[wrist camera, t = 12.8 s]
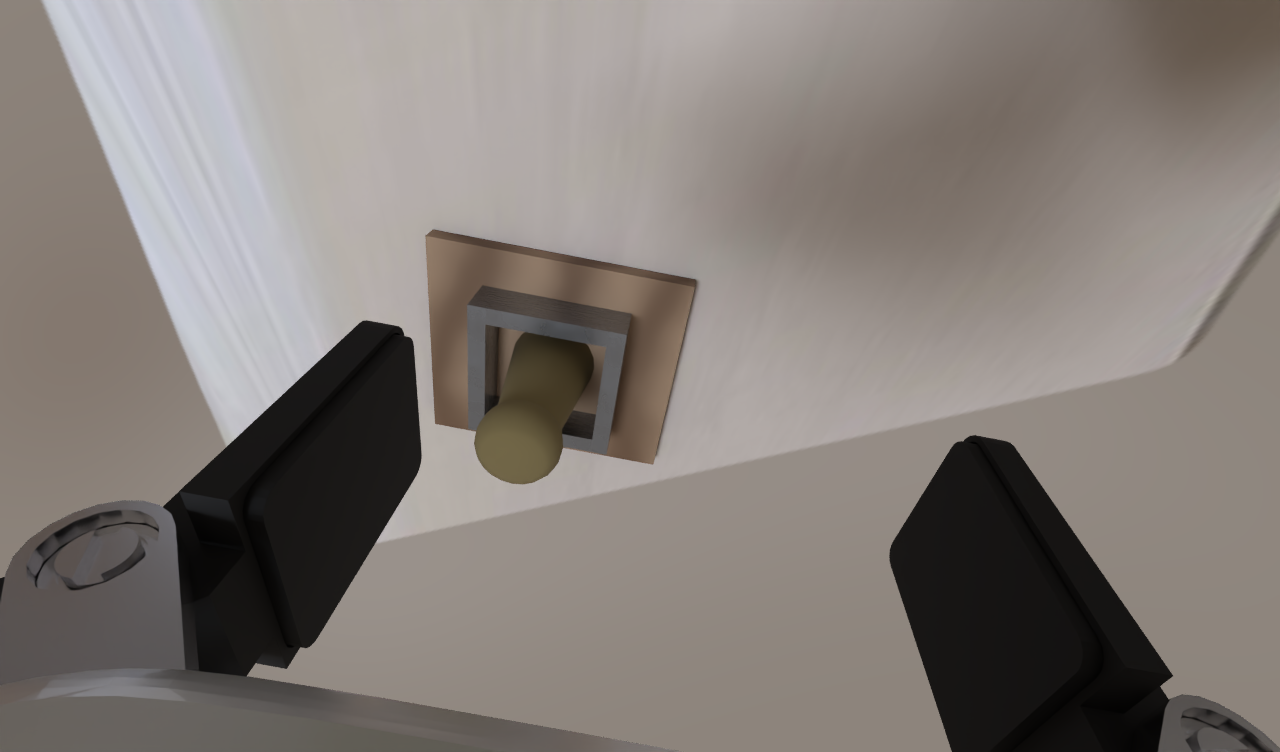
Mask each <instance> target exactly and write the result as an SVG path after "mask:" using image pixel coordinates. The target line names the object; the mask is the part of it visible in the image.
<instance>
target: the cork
mask: <svg viewBox="0 0 1280 752" xmlns="http://www.w3.org/2000/svg"><path fill="white" fill-rule="evenodd" d="M593 370H594V358H593V355H592V353H591V351H590V348H589V346H588V345H587V344H586V343H581V342H575V341H570V340H565V339H560V338H554V337H549V336H544V335H538V334H533V333H528V332H525V333H523V334H522V335H521V336H520V337H519V339H518V340H517V342H516V343H515V346H514V350H513V353H512V357H511V361H510V364H509V368H508V371H507V375H506V378H505V382H504V385H503V389H502V392H501V396H500V399H499V403H498V405H497V406H495V407H493V408H492V409H491V410H489V411H488V412H487V413H486V415H485V416H484V417H483V419H482V420H481V421H480V423H479V425H478V427H477V430H476V435H475V442H474V445H475V450H476V454H477V457H478V459H479V461H480V463H481V464H482V466H483V467H484V468H485V469H486V470H487V471H488V472H489V473H490V474H491V475H493V476H495V477H496V478H498V479H500V480H502V481H506V482H509V483H513V484H527V483H533V482H535V481H537V480H539V479H541V478H543V477H545V476H547V475H548V474H549V473H550V472H551V471H552V470H553V469H554V467H555V466H556V465H557V463H558V462H559V459H560V455H561V452H562V449H563V437H562V428H563V426H564V425H565V423H566V421H567V419H568V418H569V416H570V414H571V412H572V411H573V409H574V407H575V405H576V404H577V402H578V400H579V398H580V397H581V395H582V393H583V391H584V390H585V388H586V386H587V384H588V383H589V381H590V379H591V376H592V373H593Z"/></svg>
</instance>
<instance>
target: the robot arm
mask: <svg viewBox="0 0 1280 752" xmlns="http://www.w3.org/2000/svg"><path fill="white" fill-rule="evenodd" d="M420 464H421V440H420V426H419V413H418V399H417V385H416V371H415V357H414V345H413V341H412V339H411V338H410V337H406V336H404V332H403V330H402V329H401V328H400V327H399V326H394V325H388V324H383V323H378V322H372V321H362V322H361V323H359V324H358V325H357V326H356V327H355V328H354V329H353V330H352V331H351V332H350V333H348V334H347V335H346V336H345V337H344V338H343V339H342V340H341V341H340V342H339V343H338V344H337V345H336V346H335V347H333V348H332V349H331V350H330V351H329V352H328V353H327V354H326V355H325V356H324V357H323V358H322V359H321V360H319V361H318V362H317V363H316V364H315V365H314V366H313V367H312V368H311V369H310V370H309V371H308V372H307V373H306V374H304V375H303V376H302V377H301V378H300V379H299V380H298V381H297V382H296V383H295V384H294V385H293V386H292V387H291V388H289V389H288V390H287V391H286V392H285V393H284V394H283V395H282V396H281V397H280V398H279V399H278V400H277V401H275V402H274V403H273V404H272V405H271V406H270V407H269V408H268V409H267V410H266V411H265V412H264V413H263V414H262V415H260V416H259V417H258V418H257V419H256V420H255V421H254V422H253V423H252V424H251V425H250V426H249V427H248V428H246V429H245V430H244V431H243V432H242V433H241V434H240V435H239V436H238V437H237V438H236V439H235V440H234V441H233V442H231V443H230V444H229V445H228V446H227V447H226V448H225V449H224V450H223V451H222V452H221V453H220V454H219V455H218V456H216V457H215V458H214V459H213V460H212V461H211V462H210V463H209V464H208V465H207V466H206V467H205V468H204V469H203V470H201V471H200V472H199V473H198V474H197V475H196V476H195V477H194V478H193V479H192V480H191V481H190V482H189V483H188V484H186V485H185V486H184V487H183V488H182V489H181V490H180V491H179V492H178V493H177V494H176V495H175V496H174V497H173V498H172V499H171V500H170V501H169V502H167V503H166V504H165V505H164V506H163V507H162V506H160V505H158V504H154V503H150V502H146V501H126V500H124V501H116V502H110V503H105V504H99V505H95V506H92V507H89V508H86V509H83V510H81V511H77V512H74V513H72V514H70V515H68V516H66V517H64V518H62V519H60V520H58V521H56V522H54V523H52V524H50V525H48V526H47V527H45V528H44V529H43V530H41V531H40V532H38V533H37V534H36V535H34V536H33V537H31V538H30V539H29V540H28V541H27V542H26V543H25V544H24V545H23V546H22V547H21V548H20V550H19V551H18V552H17V553H16V554H15V555H14V556H13V558H12V560H11V562H10V565H9V567H8V569H7V571H6V574H5V577H3V578H0V752H681V751H676V750H670V749H665V748H660V747H654V746H648V745H643V744H638V743H632V742H627V741H621V740H615V739H610V738H604V737H599V736H594V735H588V734H583V733H577V732H572V731H566V730H560V729H555V728H549V727H543V726H537V725H532V724H527V723H521V722H515V721H510V720H504V719H498V718H493V717H487V716H481V715H476V714H470V713H465V712H459V711H453V710H448V709H442V708H436V707H431V706H425V705H419V704H414V703H408V702H402V701H397V700H391V699H385V698H380V697H373V696H367V695H361V694H354V693H348V692H342V691H336V690H329V689H323V688H317V687H310V686H305V685H298V684H292V683H286V682H279V681H273V680H267V679H260V678H254V677H246V676H247V675H248V673H249V672H250V670H251V669H252V667H253V666H254V665H255V663H258V664H263V665H269V666H275V667H280V668H285V669H287V668H288V666H289V664H290V663H291V661H292V660H293V658H294V656H295V655H296V653H297V652H298V650H299V648H300V647H303V648H308V647H310V646H311V645H312V644H313V643H314V642H315V641H316V639H317V638H318V636H319V635H320V633H321V631H322V630H323V628H324V626H325V625H326V623H327V621H328V620H329V618H330V617H331V615H332V613H333V612H334V610H335V608H336V607H337V605H338V603H339V602H340V600H341V598H342V597H343V595H344V594H345V592H346V590H347V588H348V587H349V585H350V583H351V582H352V580H353V579H354V577H355V575H356V574H357V572H358V571H359V569H360V567H361V566H362V564H363V562H364V561H365V559H366V557H367V556H368V554H369V552H370V551H371V549H372V548H373V546H374V544H375V543H376V541H377V539H378V538H379V536H380V534H381V533H382V531H383V529H384V528H385V526H386V525H387V523H388V521H389V520H390V518H391V516H392V515H393V513H394V511H395V510H396V508H397V507H398V505H399V503H400V502H401V500H402V498H403V497H404V495H405V493H406V492H407V490H408V488H409V487H410V485H411V484H412V482H413V480H414V479H415V477H416V475H417V473H418V470H419V468H420ZM890 564H891V568H892V571H893V574H894V577H895V580H896V583H897V586H898V589H899V592H900V595H901V598H902V601H903V604H904V607H905V610H906V613H907V616H908V619H909V622H910V625H911V629H912V631H913V635H914V638H915V641H916V644H917V647H918V650H919V653H920V656H921V659H922V662H923V665H924V668H925V671H926V674H927V677H928V680H929V683H930V686H931V689H932V692H933V695H934V698H935V701H936V704H937V708H938V710H939V714H940V717H941V720H942V723H943V726H944V729H945V732H946V735H947V738H948V741H949V744H950V747H951V750H952V752H1280V748H1279V747H1278V746H1277V745H1276V744H1275V743H1274V742H1273V741H1272V740H1270V739H1269V738H1268V737H1267V736H1266V735H1265V734H1264V733H1263V732H1262V731H1260V730H1259V729H1257V728H1256V727H1255V726H1253V725H1252V724H1251V723H1249V722H1248V721H1247V720H1245V719H1244V718H1243V717H1241V716H1240V715H1238V714H1236V713H1234V712H1233V711H1231V710H1229V709H1227V708H1225V707H1224V706H1222V705H1220V704H1218V703H1216V702H1213V701H1210V700H1207V699H1205V698H1202V697H1199V696H1192V695H1179V696H1177V697H1174V698H1171V699H1168V698H1167V696H1166V695H1165V693H1164V692H1163V690H1162V689H1161V687H1160V686H1161V685H1162V684H1163V683H1165V682H1166V681H1167V680H1168V679H1170V678H1171V677H1172V676H1173V675H1172V673H1171V672H1170V671H1169V669H1168V668H1167V666H1166V665H1165V663H1164V662H1163V660H1162V659H1161V658H1160V656H1159V655H1158V653H1157V652H1156V650H1155V649H1154V648H1153V646H1152V645H1151V643H1150V642H1149V640H1148V639H1147V637H1146V636H1145V634H1144V633H1143V632H1142V630H1141V629H1140V627H1139V626H1138V624H1137V623H1136V621H1135V620H1134V619H1133V617H1132V616H1131V614H1130V613H1129V611H1128V610H1127V608H1126V607H1125V606H1124V604H1123V603H1122V601H1121V600H1120V599H1119V597H1118V596H1117V594H1116V593H1115V591H1114V590H1113V589H1112V587H1111V586H1110V584H1109V583H1108V581H1107V580H1106V578H1105V577H1104V575H1103V574H1102V573H1101V571H1100V570H1099V568H1098V567H1097V565H1096V564H1095V562H1094V561H1093V559H1092V558H1091V557H1090V555H1089V554H1088V552H1087V551H1086V549H1085V548H1084V546H1083V545H1082V544H1081V542H1080V541H1079V539H1078V538H1077V536H1076V535H1075V533H1074V532H1073V531H1072V529H1071V528H1070V526H1069V525H1068V523H1067V522H1066V521H1065V519H1064V518H1063V516H1062V515H1061V513H1060V512H1059V510H1058V509H1057V508H1056V506H1055V505H1054V503H1053V502H1052V500H1051V499H1050V497H1049V496H1048V495H1047V493H1046V492H1045V490H1044V489H1043V487H1042V486H1041V484H1040V483H1039V482H1038V480H1037V479H1036V477H1035V476H1034V474H1033V473H1032V471H1031V470H1030V469H1029V467H1028V466H1027V464H1026V463H1025V461H1024V460H1023V458H1022V457H1021V456H1020V454H1019V453H1018V451H1017V450H1016V448H1015V447H1014V446H1013V445H1012V444H1011V443H1009V442H1006V441H1002V440H997V439H991V438H986V437H981V436H976V435H974V436H969V437H968V438H966V439H965V440H964V441H963V442H962V441H961V442H957V443H955V444H954V445H953V447H952V448H951V449H950V451H949V453H948V454H947V456H946V457H945V459H944V461H943V462H942V464H941V465H940V467H939V469H938V470H937V472H936V474H935V475H934V477H933V478H932V480H931V482H930V483H929V485H928V486H927V488H926V490H925V491H924V493H923V494H922V496H921V498H920V499H919V501H918V503H917V504H916V506H915V507H914V509H913V511H912V512H911V514H910V516H909V517H908V519H907V520H906V522H905V523H904V525H903V527H902V528H901V530H900V532H899V533H898V535H897V536H896V538H895V540H894V541H893V543H892V545H891V548H890Z"/></svg>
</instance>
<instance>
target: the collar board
mask: <svg viewBox="0 0 1280 752" xmlns="http://www.w3.org/2000/svg"><path fill="white" fill-rule="evenodd" d="M426 255H427V274H428V294H429V313H430V333H431V352H432V372H433V391H434V411H435V424H439V425H445V426H450V427H455V428H461V429H466V430H471V429H468V344H467V304H468V303H469V302H470V300H471V299H472V298H473V297H474V295H475V294H476V293H477V291H478V290H479V289H480V288H481V286H482V285H483V286H489V287H494V288H499V289H504V290H510V291H515V292H520V293H526V294H531V295H536V296H541V297H547V298H552V299H557V300H562V301H568V302H573V303H578V304H583V305H589V306H594V307H599V308H605V309H610V310H615V311H620V312H626V313H631V314H632V316H631V322H630V327H629V333H628V339H627V345H626V350H625V356H624V362H623V368H622V374H621V379H620V385H619V391H618V397H617V402H616V408H615V414H614V420H613V425H612V431H611V436H610V440H609V445H608V449H607V454H606V455H605V456H610V457H616V458H621V459H626V460H632V461H637V462H642V463H648V464H653V463H654V459H655V454H656V450H657V446H658V442H659V437H660V433H661V429H662V425H663V420H664V416H665V412H666V408H667V404H668V399H669V395H670V391H671V387H672V382H673V378H674V374H675V370H676V365H677V361H678V357H679V353H680V349H681V344H682V340H683V336H684V332H685V327H686V323H687V319H688V315H689V310H690V306H691V302H692V298H693V294H694V289H695V280H694V279H689V278H683V277H678V276H673V275H668V274H662V273H657V272H652V271H647V270H641V269H636V268H631V267H626V266H620V265H615V264H610V263H605V262H599V261H594V260H589V259H584V258H578V257H573V256H568V255H563V254H557V253H552V252H547V251H542V250H536V249H531V248H526V247H521V246H516V245H510V244H505V243H500V242H495V241H489V240H484V239H479V238H474V237H468V236H463V235H458V234H453V233H447V232H442V231H437V230H432V231H431V232H429V233H428V234H427V235H426ZM523 333H525V332H523V331H517V330H512V329H507V328H501V327H499V333H498V372H497V396H501V392H502V389H503V385H504V382H505V378H506V375H507V371H508V368H509V364H510V361H511V357H512V353H513V350H514V346H515V343H516V342H517V340H518V339H519V337H520V336H521V335H522V334H523ZM587 345H588V346H589V348H590V351H591V353H592V355H593V358H594V370H593V373H592V376H591V379H590V381H589V383H588V384H587V386H586V388H585V390H584V391H583V393H582V395H581V397H580V398H579V400H578V402H577V404H576V405H575V407H574V409H573V410H575V411H580V412H586V413H591V414H596V411H597V405H598V398H599V391H600V385H601V378H602V371H603V365H604V358H605V351H606V347H602V346H597V345H591V344H587ZM471 431H476V430H471ZM563 448H567V447H563ZM568 449H572V448H568ZM573 450H578V449H573ZM578 451H583V450H578ZM584 452H588V451H584ZM589 453H594V452H589ZM594 454H599V453H594ZM600 455H604V454H600Z"/></svg>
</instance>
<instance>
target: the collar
mask: <svg viewBox="0 0 1280 752" xmlns="http://www.w3.org/2000/svg"><path fill="white" fill-rule="evenodd" d="M631 316H632V314H631V313H626V312H620V311H615V310H610V309H605V308H599V307H594V306H589V305H583V304H578V303H573V302H568V301H562V300H557V299H552V298H547V297H541V296H536V295H531V294H526V293H520V292H515V291H510V290H504V289H499V288H494V287H489V286H483V285H482V286H481V288H480V289H479V290H478V291H477V293H476V294H475V295H474V297H473V298H472V299H471V300H470V302H469V303H468V304H467V344H468V429H471V430H477V427H478V425H479V423H480V421H481V420H482V419H483V417H484V416H485V415H486V413H487V412H488V411H489V410H491V409H492V408H493V407H495V406H497V405H498V403H499V399H500V396H497V372H498V333H499V327H501V328H507V329H512V330H517V331H523V332H528V333H533V334H538V335H544V336H549V337H554V338H560V339H565V340H570V341H575V342H581V343H586V344H591V345H597V346H602V347H606V351H605V358H604V365H603V371H602V378H601V385H600V391H599V398H598V405H597V411H596V414H591V413H586V412H580V411H575V410H573V411H572V412H571V414H570V416H569V418H568V419H567V421H566V423H565V425H564V426H563V428H562V437H563V447H567V448H572V449H578V450H583V451H588V452H594V453H599V454H604V455H606V454H607V449H608V445H609V440H610V436H611V431H612V425H613V420H614V414H615V408H616V402H617V397H618V391H619V385H620V379H621V374H622V368H623V362H624V356H625V350H626V345H627V339H628V333H629V327H630V322H631Z"/></svg>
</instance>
